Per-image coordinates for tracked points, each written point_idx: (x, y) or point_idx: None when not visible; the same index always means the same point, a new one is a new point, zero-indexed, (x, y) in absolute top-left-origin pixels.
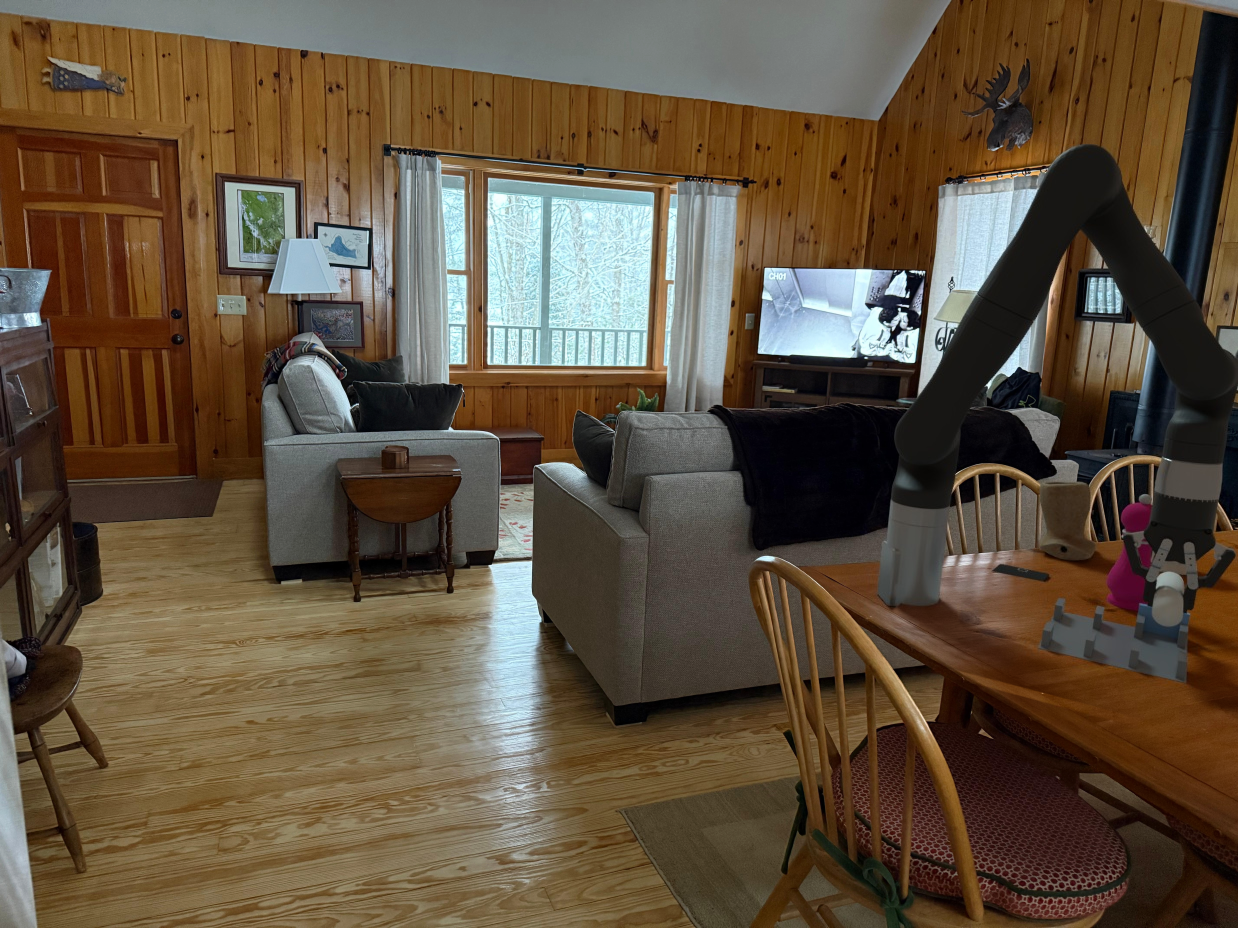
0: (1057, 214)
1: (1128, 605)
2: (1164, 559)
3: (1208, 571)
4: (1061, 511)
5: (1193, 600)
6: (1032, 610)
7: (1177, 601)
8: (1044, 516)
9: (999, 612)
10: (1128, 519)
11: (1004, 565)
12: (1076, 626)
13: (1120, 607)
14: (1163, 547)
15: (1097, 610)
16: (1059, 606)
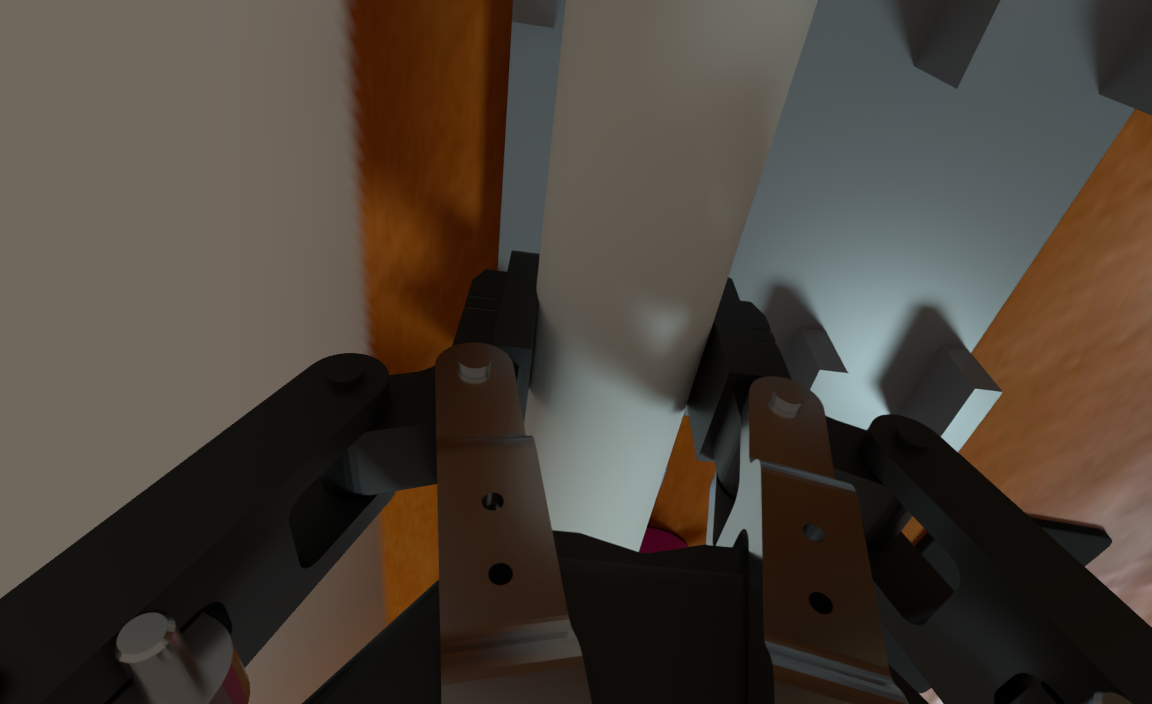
0: None
1: (646, 552)
2: (767, 541)
3: (351, 543)
4: None
5: (473, 308)
6: (968, 441)
7: (629, 3)
8: None
9: (1129, 372)
10: None
11: (916, 687)
12: (890, 319)
13: (665, 544)
14: (864, 698)
15: (824, 406)
16: (984, 386)
